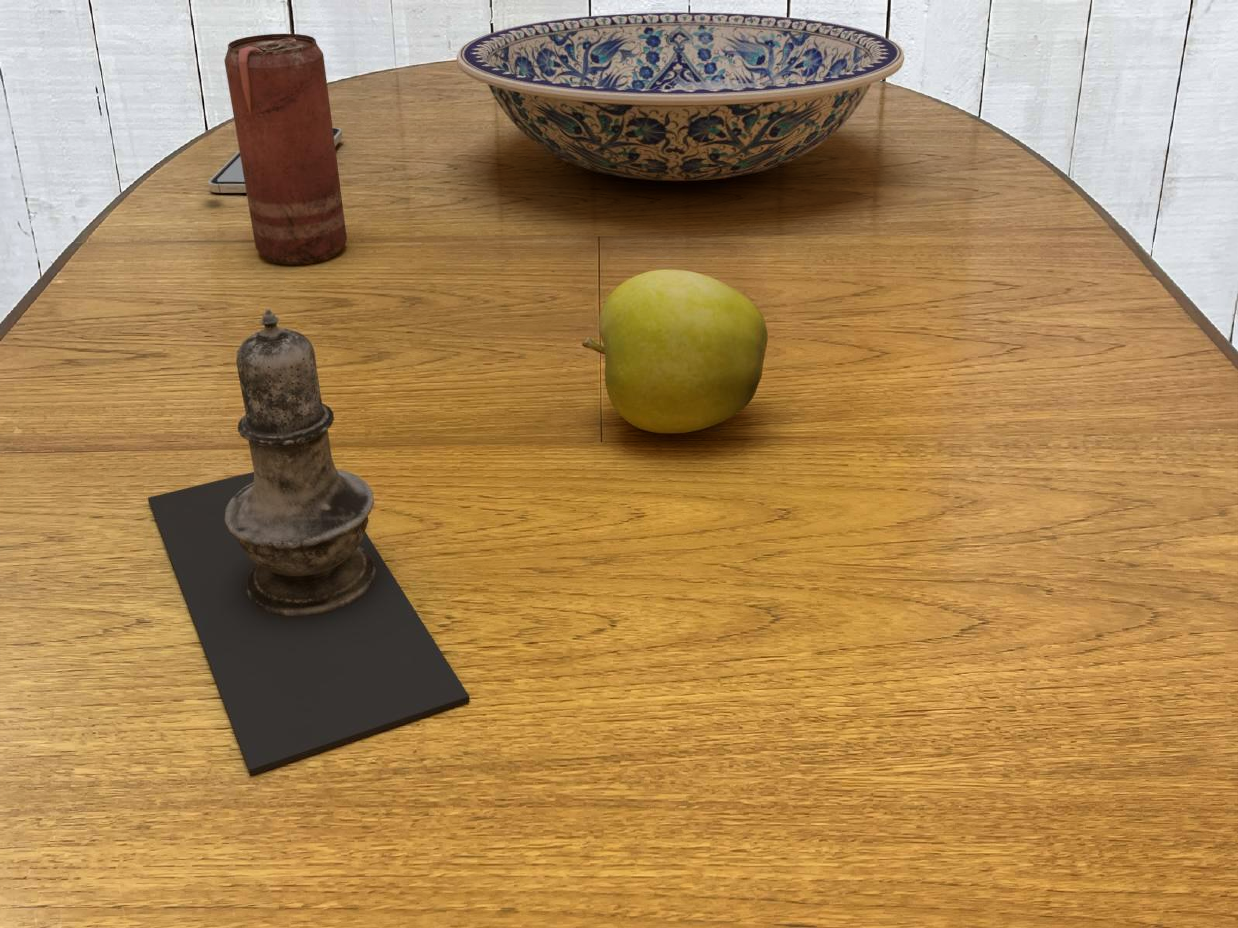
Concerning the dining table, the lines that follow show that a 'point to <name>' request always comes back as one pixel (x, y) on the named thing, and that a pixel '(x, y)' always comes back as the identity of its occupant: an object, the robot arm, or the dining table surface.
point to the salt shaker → (295, 485)
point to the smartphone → (241, 173)
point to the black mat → (298, 643)
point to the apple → (680, 350)
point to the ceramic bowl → (679, 88)
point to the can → (286, 147)
